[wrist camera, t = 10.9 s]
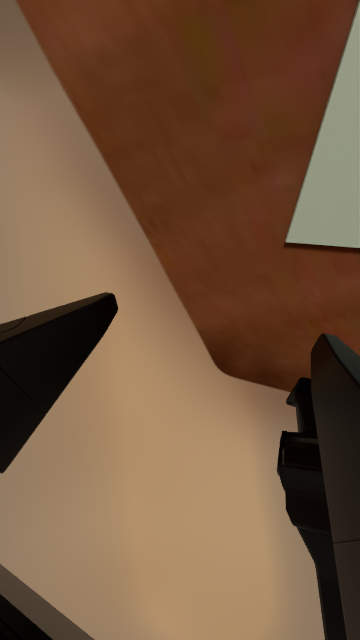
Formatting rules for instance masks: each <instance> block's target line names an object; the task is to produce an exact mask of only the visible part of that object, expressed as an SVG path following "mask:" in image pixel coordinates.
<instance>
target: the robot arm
mask: <svg viewBox="0 0 360 640" xmlns="http://www.w3.org/2000/svg"><path fill="white" fill-rule="evenodd" d="M117 311H118V306H117V302H116V298H115V295H114V294H112V293H107V292H105V293H101V294H98V295H95V296H92V297H89V298H85V299H82V300H79V301H76V302H72V303H69V304H66V305H62V306H59V307H56V308H53V309H49V310H46V311H43V312H40V313H36V314H33V315H30V316H28V317H23V318H20V319H16V320H13V321H10V322H7V323H3V324H0V473H3V472H4V471H5V470H6V469H7V468H8V467H9V465H10V464H11V462H12V461H13V460H14V458H15V457H16V456H17V454H18V452H19V451H20V450H21V448H22V447H23V445H24V444H25V443H26V442H27V440H28V439H29V437H30V436H31V435H32V433H33V432H34V431H35V429H36V428H37V427H38V425H39V424H40V422H41V421H42V420H43V418H44V417H45V415H46V414H47V413H48V411H49V410H50V408H51V407H52V406H53V404H54V403H55V401H56V400H57V399H58V397H59V396H60V395H61V393H62V392H63V390H64V389H65V388H66V386H67V385H68V384H69V382H70V381H71V380H72V378H73V377H74V375H75V374H76V373H77V371H78V370H79V369H80V367H81V366H82V364H83V363H84V362H85V360H86V359H87V358H88V356H89V355H90V354H91V352H92V351H93V349H94V348H95V347H96V345H97V344H98V343H99V341H100V340H101V338H102V337H103V335H104V334H105V332H106V331H107V329H108V327H109V325H110V324H111V322H112V320H113V318H114V317H115V315H116V313H117ZM303 380H304V381H303ZM286 403H287V404H288V405H291V406H294V407H296V415H297V424H298V432H287V431H282V435H281V438H280V448H279V455H278V467H277V473H278V475H279V476H280V479H281V483H282V486H283V489H284V490H285V494H286V511H287V513H288V515H289V518H290V520H291V522H292V524H293V525H294V526H296V527H297V529H298V531H299V533H300V535H301V537H302V538H303V541H304V543H305V545H306V546H307V548H308V551H309V553H310V554H311V557H312V559H313V560H314V563H315V567H316V573H317V580H318V588H319V596H320V604H321V612H322V620H323V627H324V635H325V640H360V356H359V355H358V354H357V353H355V352H354V351H353V350H352V349H351V348H350V347H348V346H347V345H346V344H345V343H344V342H343V341H341V340H340V339H339V338H338V337H337V336H335V335H330V334H325V333H323V334H321V335H320V336H319V338H318V339H317V341H316V343H315V345H314V346H313V348H312V351H311V379H309V378H304V377H302V378H300V379H299V380H298V382H297V384H296V385H295V387H294V389H293V390H292V392H291V393H290V394H289V396H288V398H287V400H286ZM0 640H94V639H93V638H92V637H90V636H89V635H88V634H87V633H86V632H84V631H83V630H82V629H80V628H79V627H78V626H77V625H75V624H74V623H73V622H72V621H71V620H69V619H68V618H67V617H66V616H64V615H63V614H62V613H61V612H59V611H58V610H57V609H56V608H54V607H53V606H52V605H51V604H49V603H48V602H47V601H46V600H44V599H43V598H42V597H41V596H39V595H38V594H37V593H36V592H34V591H33V590H32V589H31V588H29V587H28V586H27V585H26V584H24V583H23V582H22V581H21V580H19V579H18V578H17V577H16V576H15V575H13V574H12V573H11V572H9V571H8V570H7V569H6V568H5V567H3V566H2V565H1V564H0Z"/></svg>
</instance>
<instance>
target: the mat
mask: <svg viewBox="0 0 360 640" xmlns="http://www.w3.org/2000/svg"><path fill="white" fill-rule="evenodd" d="M285 241H286V242H291V243H303V244H316V245H329V246H341V247H354V248H360V0H359V1H358V4H357V7H356V11H355V14H354V17H353V21H352V24H351V27H350V30H349V34H348V37H347V40H346V43H345V47H344V50H343V53H342V56H341V60H340V63H339V66H338V70H337V73H336V76H335V79H334V83H333V86H332V89H331V92H330V96H329V99H328V102H327V106H326V109H325V112H324V115H323V119H322V122H321V125H320V128H319V132H318V135H317V138H316V141H315V145H314V148H313V151H312V155H311V158H310V161H309V164H308V168H307V171H306V174H305V177H304V181H303V184H302V187H301V190H300V194H299V197H298V200H297V204H296V207H295V210H294V213H293V217H292V220H291V223H290V226H289V230H288V233H287V236H286V239H285Z"/></svg>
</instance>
